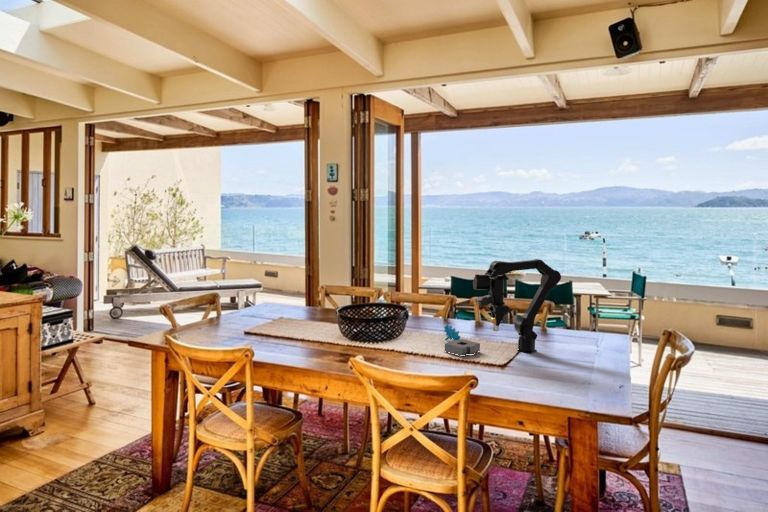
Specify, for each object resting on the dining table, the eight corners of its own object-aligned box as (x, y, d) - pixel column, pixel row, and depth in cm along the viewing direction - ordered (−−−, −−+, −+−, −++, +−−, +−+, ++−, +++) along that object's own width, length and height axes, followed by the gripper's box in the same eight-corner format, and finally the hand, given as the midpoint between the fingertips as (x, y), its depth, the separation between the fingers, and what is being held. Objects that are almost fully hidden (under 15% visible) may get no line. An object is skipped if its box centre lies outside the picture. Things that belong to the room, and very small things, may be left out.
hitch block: (481, 352, 217) (481, 343, 216) (463, 357, 209) (463, 348, 209) (460, 347, 226) (461, 338, 226) (442, 351, 218) (443, 342, 218)
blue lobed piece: (453, 341, 229) (442, 324, 234) (445, 349, 231) (434, 331, 236) (466, 340, 237) (454, 323, 242) (457, 347, 240) (446, 330, 245)
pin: (503, 330, 217) (503, 318, 217) (496, 332, 214) (497, 319, 214) (494, 328, 220) (495, 316, 220) (488, 330, 218) (489, 317, 217)
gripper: (474, 286, 225) (473, 320, 226) (484, 293, 206) (483, 329, 207) (497, 286, 225) (497, 320, 227) (510, 293, 207) (509, 329, 208)
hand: (496, 324), depth 217 cm, fingers closed on pin, 4 cm apart
